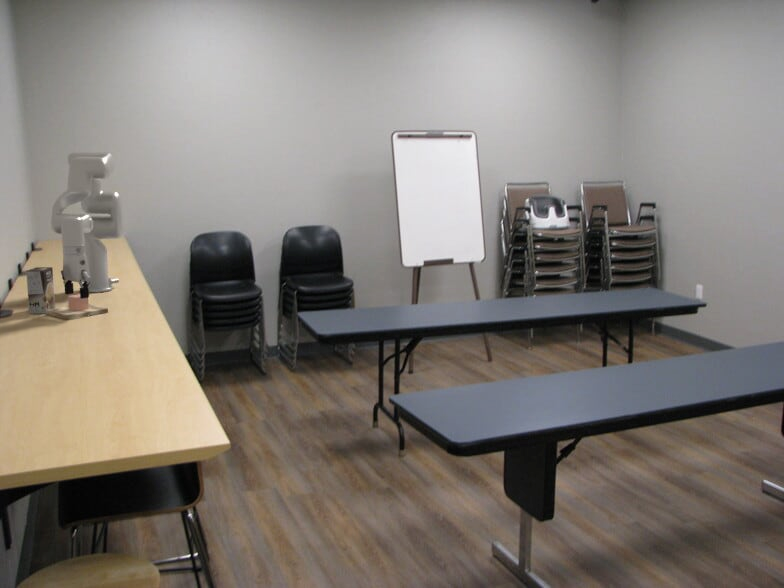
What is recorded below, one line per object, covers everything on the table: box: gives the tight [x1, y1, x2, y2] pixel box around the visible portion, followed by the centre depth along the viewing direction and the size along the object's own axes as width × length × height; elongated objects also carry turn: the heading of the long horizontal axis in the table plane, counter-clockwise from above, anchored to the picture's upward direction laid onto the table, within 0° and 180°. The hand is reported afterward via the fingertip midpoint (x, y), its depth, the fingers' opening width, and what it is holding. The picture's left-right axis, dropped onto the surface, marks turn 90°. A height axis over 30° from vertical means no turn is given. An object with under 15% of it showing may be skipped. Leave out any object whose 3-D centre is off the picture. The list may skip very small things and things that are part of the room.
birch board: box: [46, 303, 109, 321], centre depth 274 cm, size 16×14×2 cm
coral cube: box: [67, 293, 90, 311], centre depth 274 cm, size 5×5×5 cm
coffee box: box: [25, 266, 56, 314], centre depth 275 cm, size 9×6×16 cm
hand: (77, 295), depth 273 cm, fingers open, 9 cm apart
